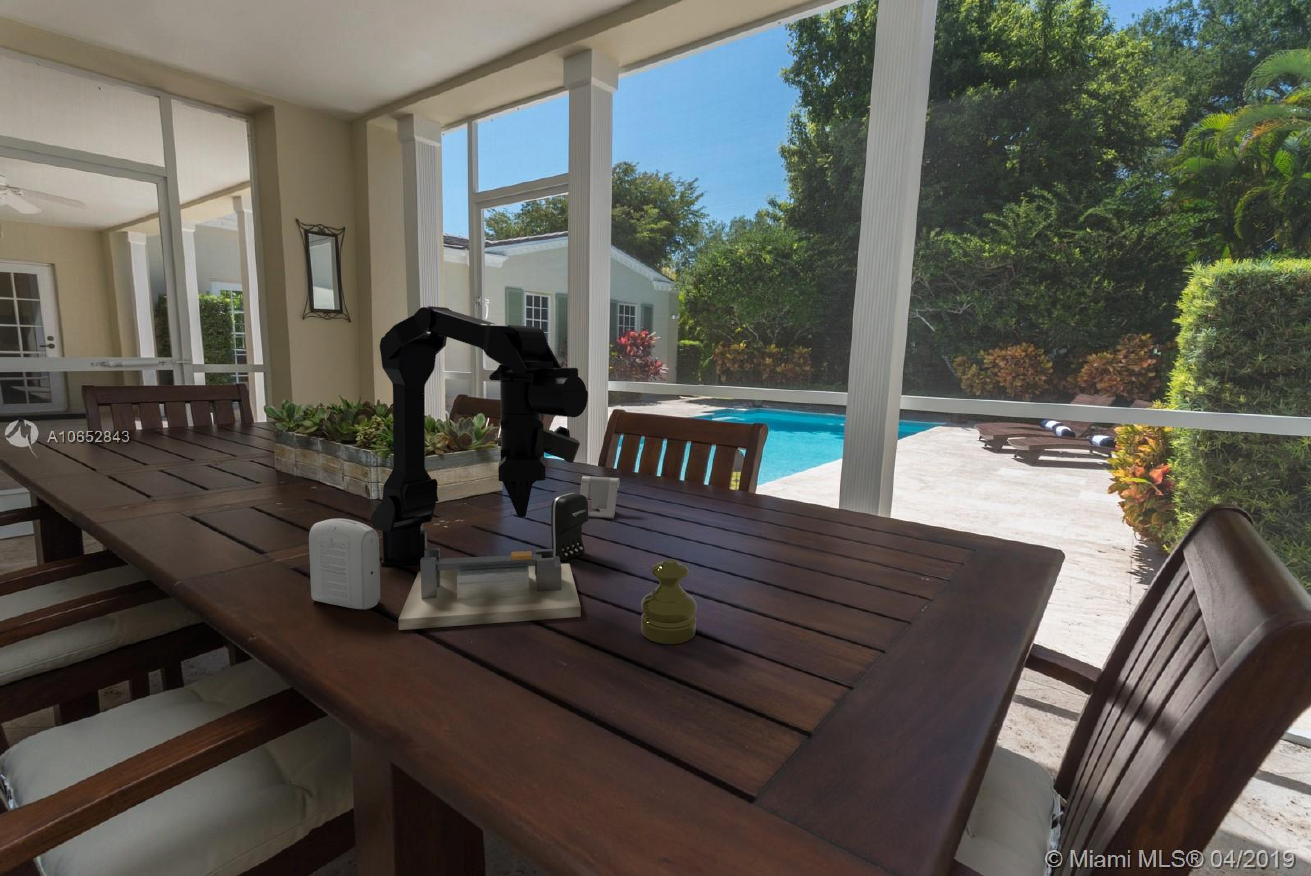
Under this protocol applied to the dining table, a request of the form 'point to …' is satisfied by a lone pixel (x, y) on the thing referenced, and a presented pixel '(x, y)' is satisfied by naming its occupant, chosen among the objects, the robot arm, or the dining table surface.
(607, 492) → the portable electronic device stand
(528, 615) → the base board
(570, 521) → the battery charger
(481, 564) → the strap
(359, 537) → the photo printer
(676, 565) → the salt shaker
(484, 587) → the finned block
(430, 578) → the bracket
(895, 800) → the dining table surface
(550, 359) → the robot arm
